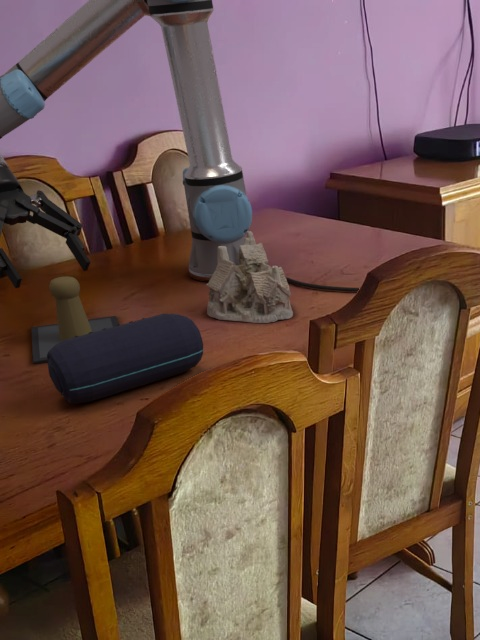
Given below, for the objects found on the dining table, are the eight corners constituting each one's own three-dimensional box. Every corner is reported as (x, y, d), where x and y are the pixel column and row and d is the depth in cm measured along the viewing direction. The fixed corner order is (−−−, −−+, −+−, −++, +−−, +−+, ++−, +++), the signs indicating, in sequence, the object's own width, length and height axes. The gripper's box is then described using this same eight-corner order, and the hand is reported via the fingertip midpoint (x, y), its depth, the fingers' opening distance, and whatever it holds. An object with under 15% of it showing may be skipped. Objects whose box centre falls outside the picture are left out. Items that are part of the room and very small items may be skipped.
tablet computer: (116, 318, 168) (115, 315, 168) (126, 350, 152) (126, 347, 152) (31, 329, 163) (31, 326, 163) (33, 364, 148) (32, 361, 147)
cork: (64, 332, 160) (49, 274, 154) (96, 330, 160) (83, 272, 154) (55, 343, 155) (40, 283, 149) (89, 341, 155) (75, 282, 149)
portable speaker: (183, 358, 149) (173, 302, 143) (213, 373, 143) (204, 315, 137) (46, 399, 135) (29, 339, 129) (73, 418, 128) (57, 355, 123)
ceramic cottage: (202, 306, 172) (194, 231, 164) (279, 298, 178) (275, 225, 169) (219, 334, 161) (212, 255, 152) (301, 325, 166) (298, 248, 158)
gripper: (51, 181, 165) (109, 271, 164) (-79, 203, 149) (-15, 303, 149) (57, 154, 159) (118, 248, 158) (-77, 175, 143) (-10, 278, 143)
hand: (54, 275), depth 154 cm, fingers open, 13 cm apart
